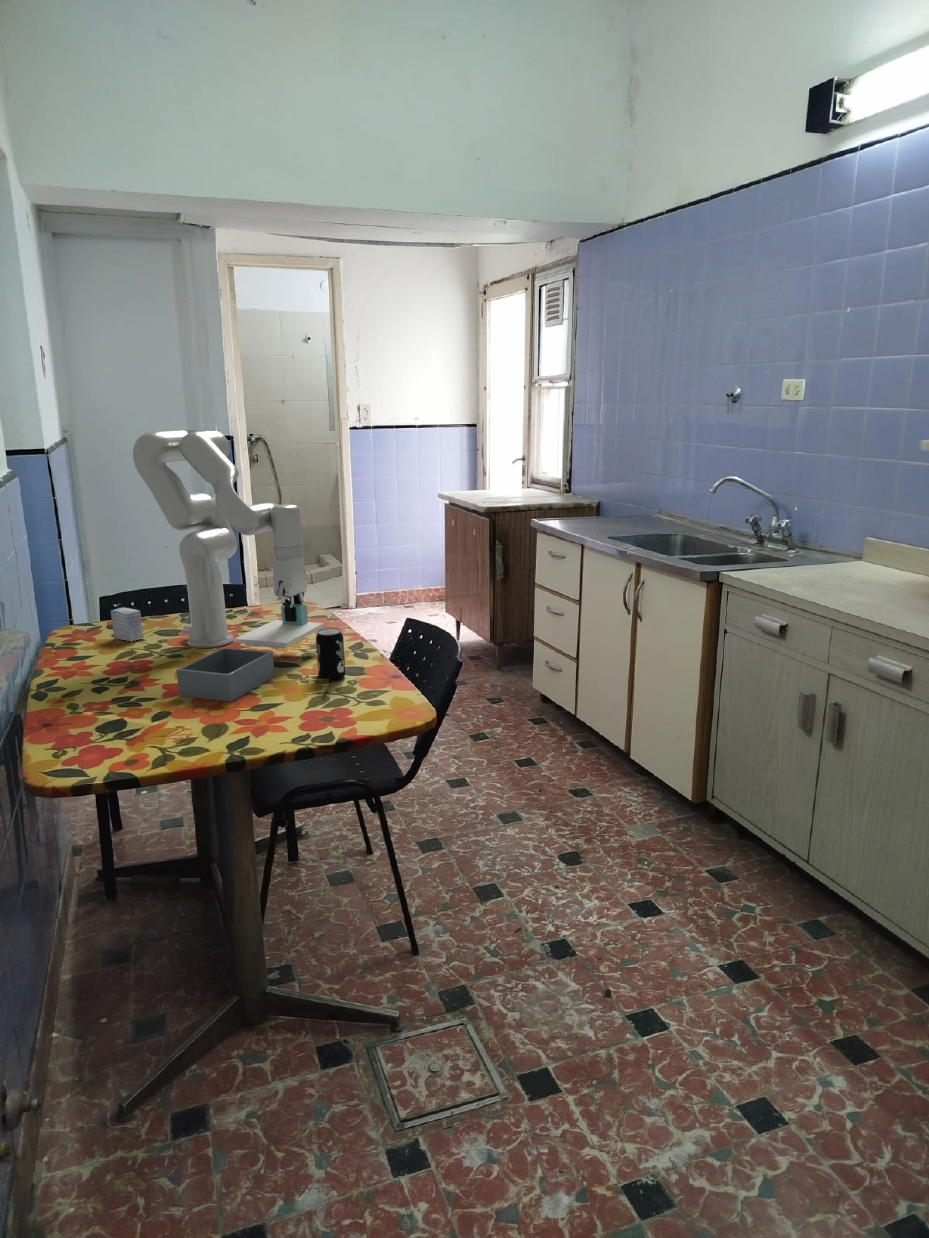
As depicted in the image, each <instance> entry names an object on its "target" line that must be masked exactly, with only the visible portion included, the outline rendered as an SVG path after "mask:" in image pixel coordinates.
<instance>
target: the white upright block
mask: <svg viewBox="0 0 929 1238" xmlns="http://www.w3.org/2000/svg"><path fill="white" fill-rule="evenodd" d="M141 616H142V615H141V610H139V609H135V608H130V607H118V608H116V609H113V610H110V617H111V624H112V631H113V638H118V639H121V640H120V641H123V640H127V641H133V640H138V639H141V638H145V635H144V631H143V629H144V628H143V623H142V622H143V621H142V617H141ZM118 639H117V640H118ZM127 641H126V642H127Z"/></svg>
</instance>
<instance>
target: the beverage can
mask: <svg viewBox="0 0 929 1238" xmlns="http://www.w3.org/2000/svg"><path fill="white" fill-rule="evenodd" d="M316 633H317V635H316V636H315V648H316V660H317V661H316V663H317V664H316V665H317V677H318V678H319V679H322V680H328V681H333V682H337V681H341V680H343V679H344V677H345V676H346V662H345V661H346V660H345V659H346V658H345V644H344V643H345V642H344V641H345V640H344V634H343V633H342V629H340V628H338V627H323V628H321V629H319V630H317V631H316Z"/></svg>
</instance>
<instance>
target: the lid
mask: <svg viewBox="0 0 929 1238" xmlns="http://www.w3.org/2000/svg"><path fill="white" fill-rule="evenodd" d="M294 607H296V619H297V621H296V622H287V621H285V613H284V607H283V604H281V606H280V611H281V619H280V620H279V619H274V620H272V621H269V622H268V623H265V624H263V625H261V626H259V627H257V628H255V629H252V630H250V631H249V632H246V633H244V634H242V635H240V636H238V637H234V644H235V643H236V644H244V645H245V646H250V647H251V646H254V647H265V648H266V647H267V648H276V649H277V648H278V649H279V648H280V649H286V648H287V647H290V646H291V645H293V644H295V643H297V642H299V641H301V640H303V639H304V638H306V637H308V636H309V635H312V634H314V633H316V632H317V631H318V630H320V629H324V628H325V624H324V622H315V621H314V622H312V621H309V620H308V607H307V604H303V603H301V604H294Z"/></svg>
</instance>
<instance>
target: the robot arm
mask: <svg viewBox="0 0 929 1238" xmlns="http://www.w3.org/2000/svg"><path fill="white" fill-rule="evenodd" d="M230 446H231V445H230V443H229V441H228V439H227V437H226V436H225V434H223V433H222V432H220V431H217V430H209V429H208V430H205V429H204V430H201V429H170V430H167V429H165V430H153V431H149V432H145V433H143V434H142V435H140V436H139V437H137V439H136V440H135V442H134V446H133V448H132V459H133V464H134V467H135V469H136V472H137V473H138V475H139V476H140V477H141V478H142V480H143V482H144V483H145V484H146V486H147V487H148V490H149V491H150V493H151V494H152V495H153V498H154V500H155V502H156V503H157V505H158V507H159V509H160V510H161V512H162V515H163V516H164V517H165V520H166V522H168V524H169V526H170V527H171V528H173V529H174V530H176V531H180V532H183V531H189V530H193V529H198V530H196V531H192V532H190V533H188V534H186V535H185V536H184V537H182V539H181V541H180V543H179V545H178V546H179V548H178V551H179V556H180V559H181V562H182V565H183V569H184V574H185V579H186V580H185V581H186V590H187V598H188V608H189V617H190V625H187V624H185V625H184V626H183V629H181V633H182V634H183V635H188V638H187V639H186V643H187V645H188V646H189V647H191V648H199V649H209V648H210V649H211V648H215V647H216V648H217V647H223V646H225V645H228V644H230V643H232V642H233V641H235V637H234V635H233V634H232V633H230V632H228V624H227V614H226V602H225V594H224V586H223V577H222V575H221V572H220V570H219V568H218V567H217V564H216V563H218V562H221V561H225V560H227V559H230V558H231V557H233V556H234V555H235V553H236V552H237V549H238V540H237V537H236V535H235V531H237V532H238V533H240V534H242V535H244V536H255V535H257V534H258V535H259V534H262V533H266V532H270V531H271V532H272V533H271V534H272V542H273V554H274V555H273V556H274V559H273V569H272V570H273V571H272V574H273V575H272V576H273V577H272V579H273V582H272V583H273V594H274V596H275V597H276V598H277V599H276V600H277V601H278V602H280V603H281V605H283V607H284V613H285V621H287V622H296V621H297V619H296V607H294V604H303V603H304V596H305V593H306V592H307V590H308V589H307V588H308V576H307V569H306V564H305V559H304V556H305V554H304V544H303V543H304V542H303V530H302V517H301V510H300V506H298V505H296V504H290V503H289V504H287V503H285V504H278V503H274V502H262V503H261V502H260V503H255V504H251V505H247V503H246V502H244V501H243V499H242V498H241V497H240V496H239V495H238V493H237V492H236V491H235V488H234V483H236V481H237V480H238V477H239V475H240V473H239V472H240V470H239V469H238V467H237V466H236V465H235V464H234V462H232V461H231V459H229V458H228V456H229V455H230V452H231V451H230V450H231V449H230V448H231V447H230ZM182 461H183V462H187V463H188V464H189V465H190V466H191V467H192V468H193V470H195V472H197V474H198V475H199V476H200V477H201V478H202V479H203V481H204V482H206V483H207V484H208V486H209V487H210V488H211V489H212V491H213V497H212V496H210V494H207V493H204V492H195V493H190V492H189V491H188V489H187V488H186V486H185V485H184V483H183V481H182V479H181V478H180V477H179V475H178V473H176V472H175V471H174V470H173V469H171V468H170V467H169V466H168V465H167V463H173V462H174V463H175V462H182ZM233 529H234V530H235V531H234V530H233Z"/></svg>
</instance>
